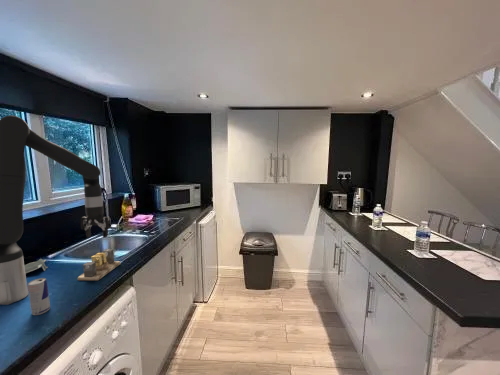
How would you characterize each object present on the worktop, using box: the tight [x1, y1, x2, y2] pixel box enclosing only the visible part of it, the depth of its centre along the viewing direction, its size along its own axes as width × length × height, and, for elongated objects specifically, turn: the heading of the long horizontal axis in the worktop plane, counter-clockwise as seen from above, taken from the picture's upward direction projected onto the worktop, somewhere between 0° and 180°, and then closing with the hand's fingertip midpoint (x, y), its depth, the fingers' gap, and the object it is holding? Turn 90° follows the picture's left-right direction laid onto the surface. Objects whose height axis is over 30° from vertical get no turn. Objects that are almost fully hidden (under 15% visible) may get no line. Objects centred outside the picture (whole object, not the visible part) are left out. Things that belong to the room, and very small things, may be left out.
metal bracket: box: [24, 258, 49, 274], centre depth 123 cm, size 14×6×15 cm
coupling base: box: [77, 248, 121, 281], centre depth 122 cm, size 18×10×8 cm, turn 177°
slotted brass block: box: [90, 252, 106, 266], centre depth 121 cm, size 5×4×5 cm
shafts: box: [85, 248, 112, 269], centre depth 121 cm, size 17×2×4 cm, turn 177°
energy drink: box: [27, 277, 51, 316], centre depth 90 cm, size 5×5×12 cm
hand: (97, 237), depth 120 cm, fingers open, 8 cm apart
